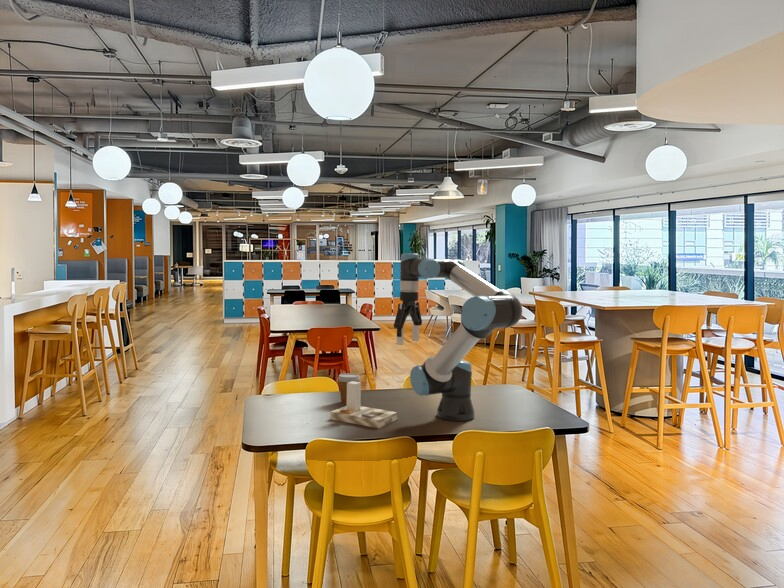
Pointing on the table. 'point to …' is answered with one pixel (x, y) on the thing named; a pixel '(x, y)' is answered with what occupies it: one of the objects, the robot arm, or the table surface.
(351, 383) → the plug
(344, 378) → the disposable coffee cup
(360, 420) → the socket plate
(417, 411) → the table surface
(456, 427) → the table surface
